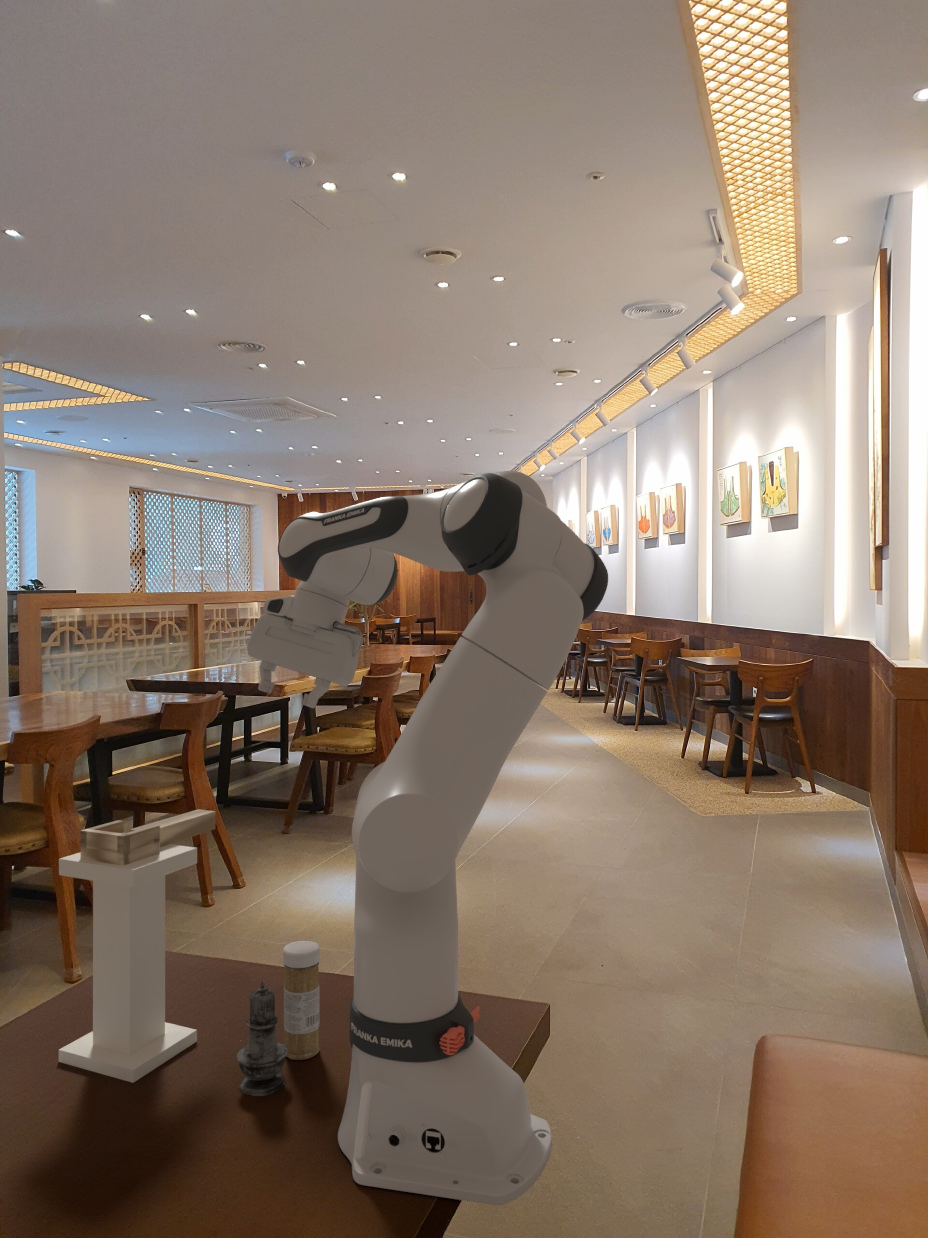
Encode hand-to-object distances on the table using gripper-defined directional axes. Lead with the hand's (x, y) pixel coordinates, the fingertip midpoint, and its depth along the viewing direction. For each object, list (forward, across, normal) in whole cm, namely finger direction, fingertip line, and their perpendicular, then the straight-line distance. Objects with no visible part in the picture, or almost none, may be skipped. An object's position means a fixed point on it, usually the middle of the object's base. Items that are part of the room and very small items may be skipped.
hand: (285, 699), depth 137 cm
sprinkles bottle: (+41, -28, +7) cm, 51 cm away
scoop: (+23, -5, +19) cm, 30 cm away
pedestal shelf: (+48, -10, +17) cm, 52 cm away
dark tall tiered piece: (+43, -30, +14) cm, 54 cm away
